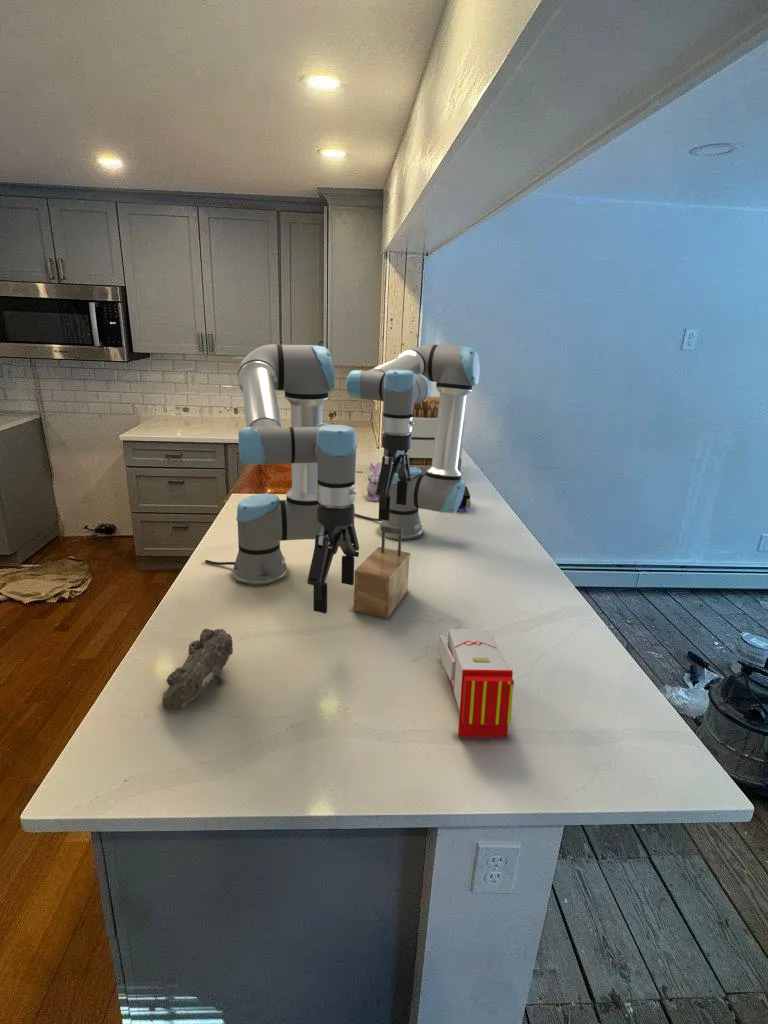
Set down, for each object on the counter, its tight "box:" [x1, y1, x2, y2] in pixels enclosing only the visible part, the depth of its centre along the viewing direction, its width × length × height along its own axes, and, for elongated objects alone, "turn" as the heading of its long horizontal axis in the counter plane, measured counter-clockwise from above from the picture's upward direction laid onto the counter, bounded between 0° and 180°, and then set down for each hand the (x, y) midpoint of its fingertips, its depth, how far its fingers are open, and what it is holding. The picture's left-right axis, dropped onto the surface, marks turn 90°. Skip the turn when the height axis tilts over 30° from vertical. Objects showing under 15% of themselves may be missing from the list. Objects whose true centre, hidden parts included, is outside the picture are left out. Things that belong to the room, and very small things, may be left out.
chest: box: [353, 556, 411, 619], centre depth 152 cm, size 16×10×11 cm, turn 159°
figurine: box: [365, 462, 381, 502], centre depth 233 cm, size 9×10×15 cm
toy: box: [437, 628, 515, 738], centre depth 117 cm, size 12×13×30 cm
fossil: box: [161, 628, 234, 710], centre depth 117 cm, size 22×10×15 cm
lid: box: [354, 524, 412, 581], centre depth 149 cm, size 17×10×9 cm, turn 159°
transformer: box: [383, 396, 465, 474], centre depth 268 cm, size 34×33×41 cm
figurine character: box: [456, 485, 472, 513], centre depth 228 cm, size 7×8×15 cm
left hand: (334, 597), depth 121 cm, fingers open, 13 cm apart
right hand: (392, 511), depth 151 cm, fingers open, 13 cm apart
